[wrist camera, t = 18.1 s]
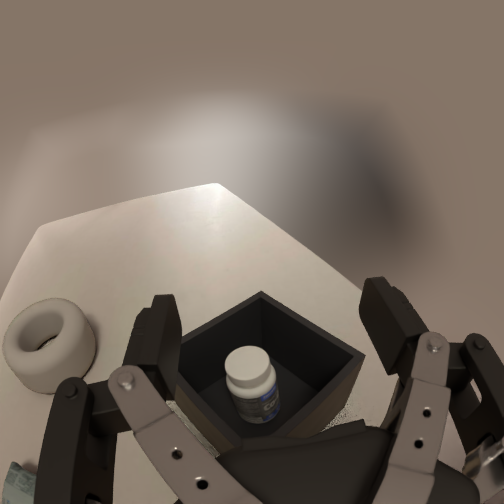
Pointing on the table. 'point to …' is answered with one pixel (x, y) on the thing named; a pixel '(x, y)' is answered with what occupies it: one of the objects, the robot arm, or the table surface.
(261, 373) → the pill bottle
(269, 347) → the trash bin
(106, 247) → the table surface
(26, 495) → the packaged food
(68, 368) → the donut shape
